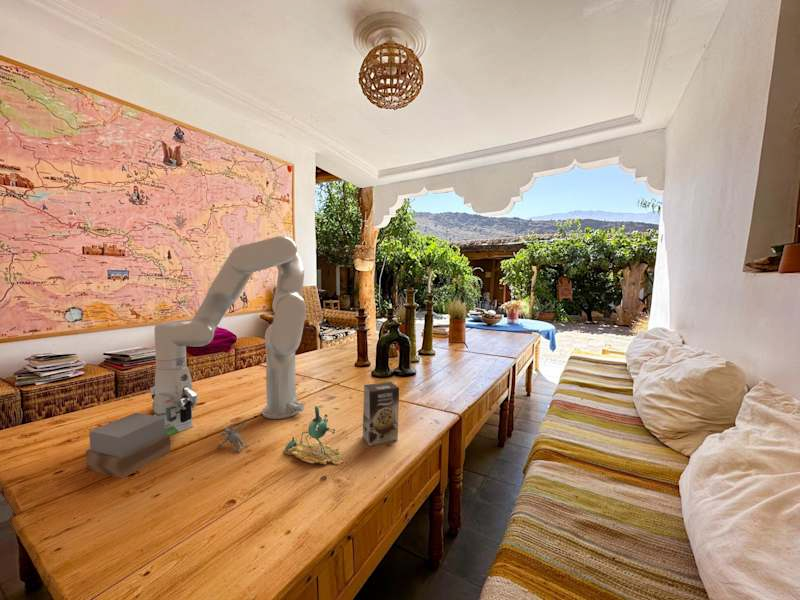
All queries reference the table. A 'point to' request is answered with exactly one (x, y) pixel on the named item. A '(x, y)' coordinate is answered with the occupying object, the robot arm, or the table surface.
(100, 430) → the tower top
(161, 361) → the robot arm
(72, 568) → the table surface
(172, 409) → the ink box
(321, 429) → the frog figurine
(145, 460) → the tower bottom
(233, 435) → the elephant figurine
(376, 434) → the coffee box
